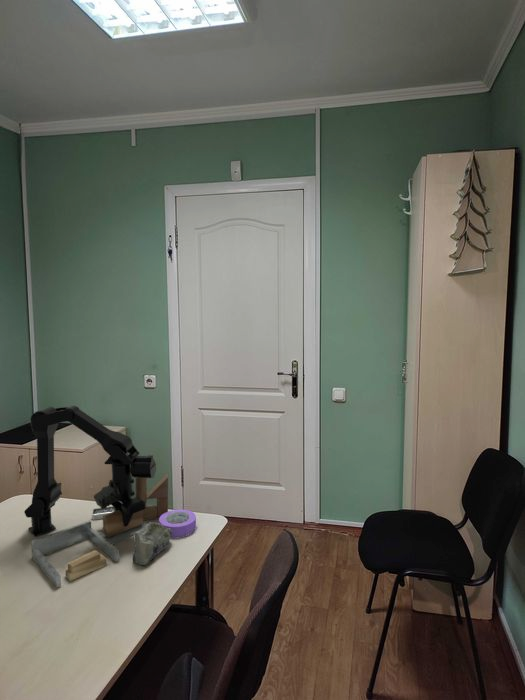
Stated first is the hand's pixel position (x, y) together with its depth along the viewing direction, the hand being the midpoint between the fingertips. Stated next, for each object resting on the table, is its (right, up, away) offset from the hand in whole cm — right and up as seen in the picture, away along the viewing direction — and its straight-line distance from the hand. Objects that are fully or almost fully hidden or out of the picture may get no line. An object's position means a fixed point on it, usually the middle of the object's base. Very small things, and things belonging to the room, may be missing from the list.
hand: (123, 524), depth 142 cm
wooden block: (+6, -2, +9) cm, 11 cm away
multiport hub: (-7, -2, +12) cm, 14 cm away
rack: (-9, -4, -14) cm, 18 cm away
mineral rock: (+13, -4, -12) cm, 18 cm away
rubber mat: (0, -3, 0) cm, 3 cm away
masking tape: (+17, -3, +3) cm, 17 cm away
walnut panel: (0, -2, 0) cm, 2 cm away
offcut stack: (-4, -5, -20) cm, 21 cm away
